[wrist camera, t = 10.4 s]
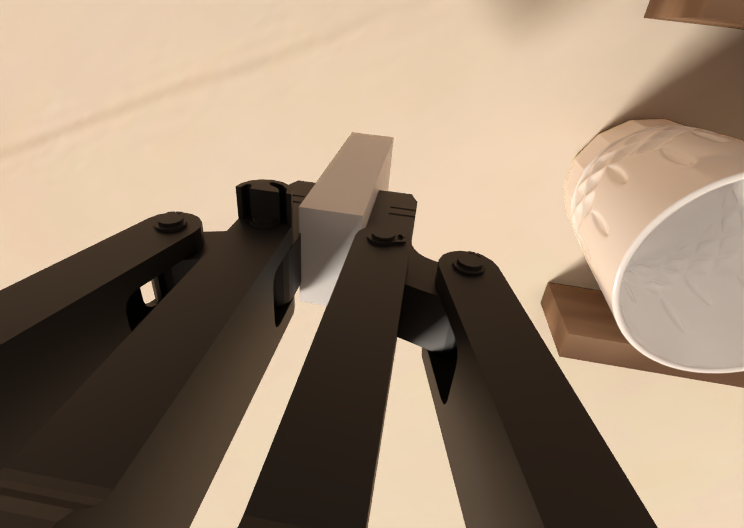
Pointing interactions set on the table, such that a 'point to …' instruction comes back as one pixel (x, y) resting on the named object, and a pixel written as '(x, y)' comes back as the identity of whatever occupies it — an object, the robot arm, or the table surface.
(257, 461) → the table surface
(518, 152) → the table surface
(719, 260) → the white cup
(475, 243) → the table surface
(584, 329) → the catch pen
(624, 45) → the table surface
